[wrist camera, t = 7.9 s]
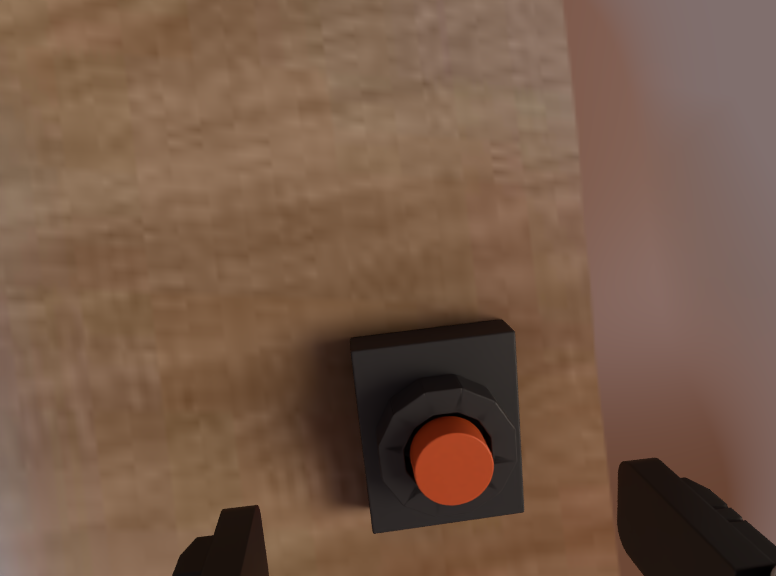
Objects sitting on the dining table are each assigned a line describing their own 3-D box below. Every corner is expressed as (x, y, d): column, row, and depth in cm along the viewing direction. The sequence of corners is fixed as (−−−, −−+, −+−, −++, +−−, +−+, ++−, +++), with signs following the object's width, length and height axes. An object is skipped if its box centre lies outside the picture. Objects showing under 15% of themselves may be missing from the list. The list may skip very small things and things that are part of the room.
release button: (482, 410, 26) (491, 427, 25) (486, 479, 27) (496, 500, 26) (406, 420, 26) (410, 438, 25) (413, 489, 27) (418, 511, 25)
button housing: (502, 318, 29) (527, 342, 25) (512, 489, 32) (536, 535, 28) (349, 337, 29) (351, 365, 25) (370, 509, 31) (375, 558, 27)
